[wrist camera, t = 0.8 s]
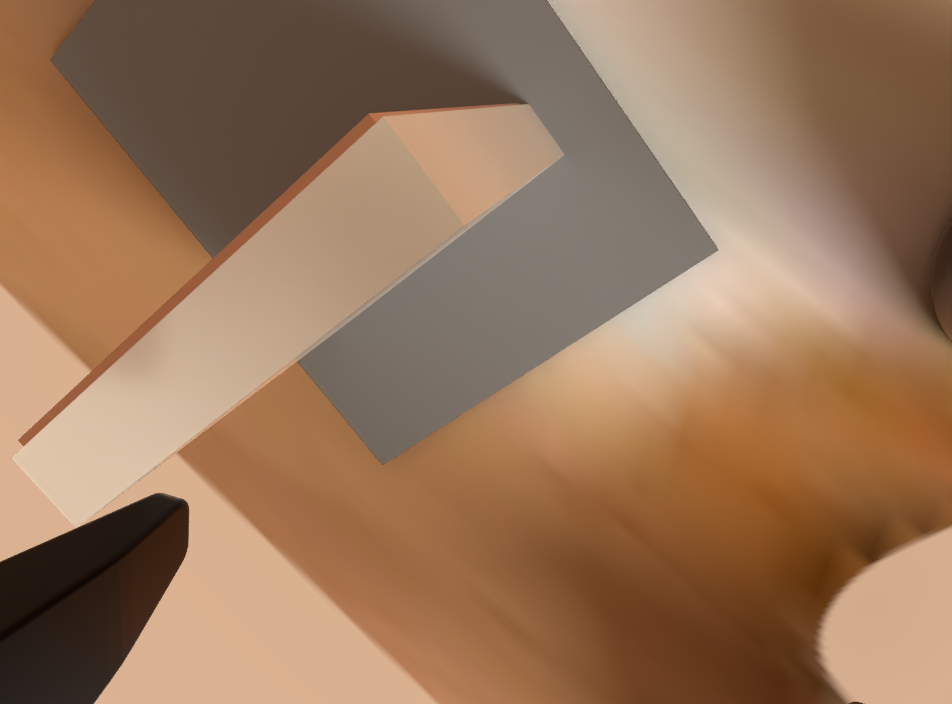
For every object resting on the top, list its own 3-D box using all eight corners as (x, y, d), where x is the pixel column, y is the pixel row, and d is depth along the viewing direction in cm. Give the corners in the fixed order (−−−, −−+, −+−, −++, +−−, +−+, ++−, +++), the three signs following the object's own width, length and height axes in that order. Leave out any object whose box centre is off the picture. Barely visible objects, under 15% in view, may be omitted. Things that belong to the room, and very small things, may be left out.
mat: (716, 247, 21) (717, 250, 20) (386, 458, 26) (382, 465, 26) (339, -300, 18) (331, -311, 18) (61, 60, 24) (50, 59, 23)
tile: (564, 154, 20) (464, 224, 9) (335, 332, 24) (75, 528, 13) (524, 98, 20) (374, 104, 9) (298, 287, 24) (3, 449, 13)
